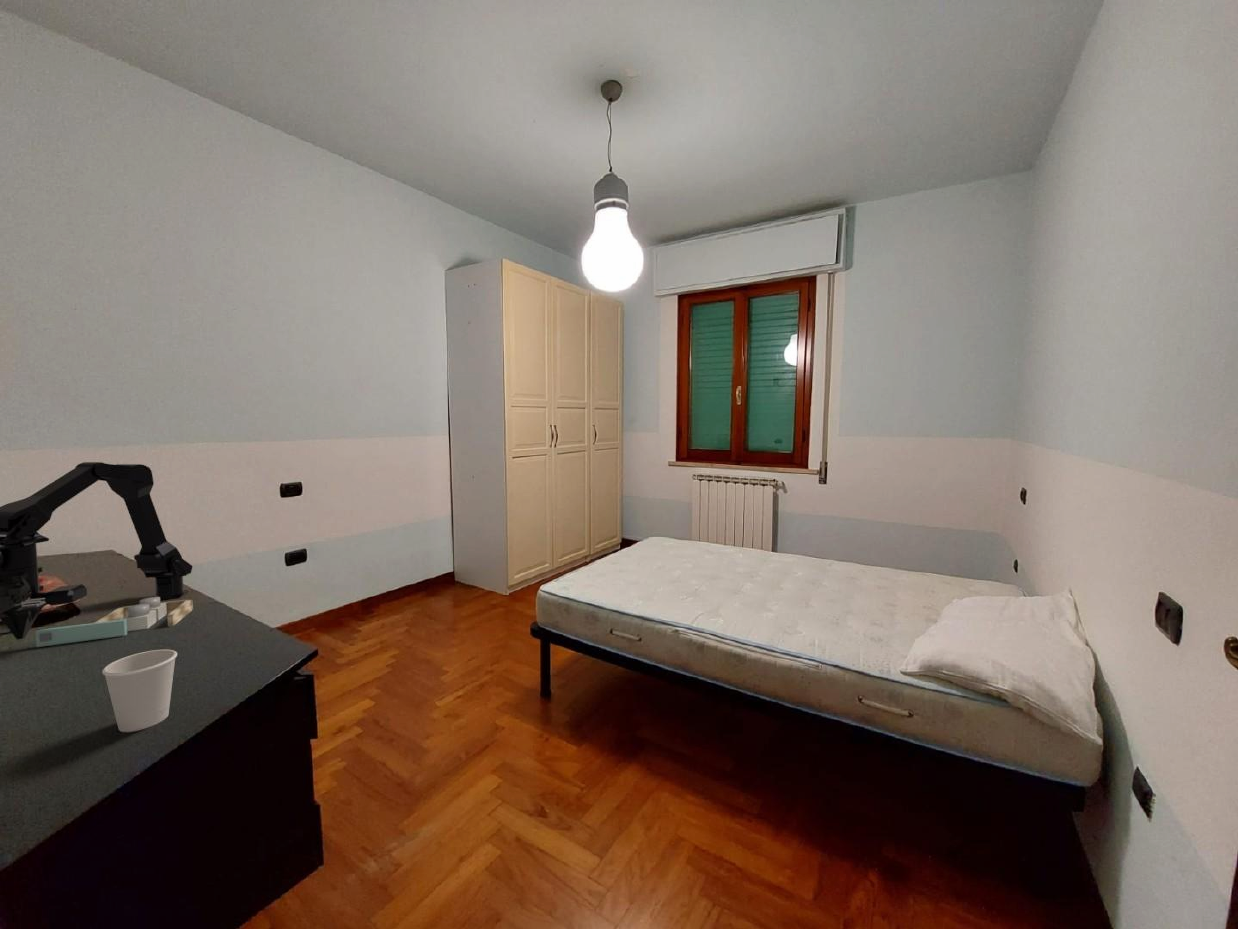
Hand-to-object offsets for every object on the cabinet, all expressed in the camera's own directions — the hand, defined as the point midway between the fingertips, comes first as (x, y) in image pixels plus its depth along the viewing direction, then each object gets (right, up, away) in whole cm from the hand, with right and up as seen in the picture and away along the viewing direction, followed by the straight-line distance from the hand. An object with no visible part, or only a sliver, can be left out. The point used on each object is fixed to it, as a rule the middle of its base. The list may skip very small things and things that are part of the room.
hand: (21, 638), depth 99 cm
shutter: (+9, -2, +4) cm, 10 cm away
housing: (+12, -2, +15) cm, 19 cm away
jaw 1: (+13, -2, +12) cm, 18 cm away
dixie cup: (+52, -4, -25) cm, 58 cm away
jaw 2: (+11, -1, +17) cm, 20 cm away
